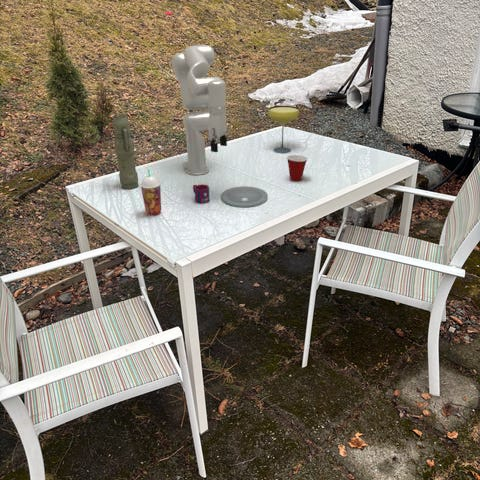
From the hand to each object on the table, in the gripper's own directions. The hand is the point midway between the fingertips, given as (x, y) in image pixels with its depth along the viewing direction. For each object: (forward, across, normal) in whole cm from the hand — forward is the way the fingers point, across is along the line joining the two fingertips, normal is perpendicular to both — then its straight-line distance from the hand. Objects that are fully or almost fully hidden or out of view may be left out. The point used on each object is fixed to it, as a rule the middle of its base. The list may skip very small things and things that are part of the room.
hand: (219, 148), depth 199 cm
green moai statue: (+23, +6, -48) cm, 54 cm away
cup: (+23, +7, -7) cm, 25 cm away
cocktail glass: (+23, -76, +6) cm, 80 cm away
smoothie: (+23, +28, -20) cm, 41 cm away
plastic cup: (+23, -33, +28) cm, 49 cm away
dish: (+23, -2, +11) cm, 26 cm away
